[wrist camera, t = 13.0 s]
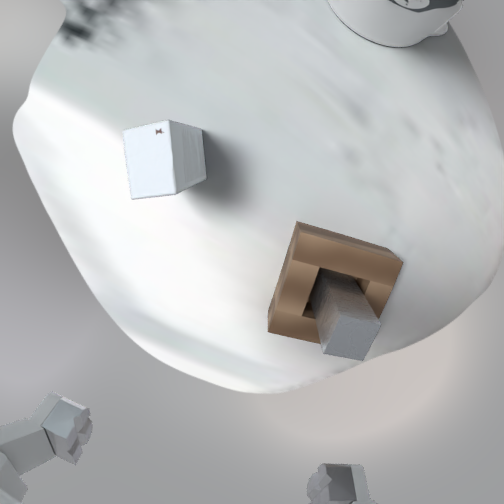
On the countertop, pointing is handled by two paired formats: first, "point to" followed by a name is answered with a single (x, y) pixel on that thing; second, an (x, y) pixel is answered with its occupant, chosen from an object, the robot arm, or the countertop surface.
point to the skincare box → (163, 158)
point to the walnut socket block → (333, 258)
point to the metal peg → (342, 315)
